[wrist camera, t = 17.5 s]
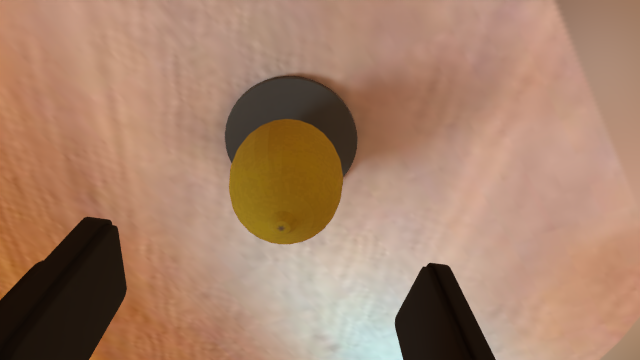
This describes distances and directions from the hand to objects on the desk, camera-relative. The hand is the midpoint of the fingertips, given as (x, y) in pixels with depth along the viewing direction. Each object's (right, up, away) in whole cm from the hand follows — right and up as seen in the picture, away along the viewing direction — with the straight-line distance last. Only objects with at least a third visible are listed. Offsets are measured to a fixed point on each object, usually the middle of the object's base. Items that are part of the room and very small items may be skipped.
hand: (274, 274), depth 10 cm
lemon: (0, +5, +10) cm, 11 cm away
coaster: (0, +5, +10) cm, 11 cm away
